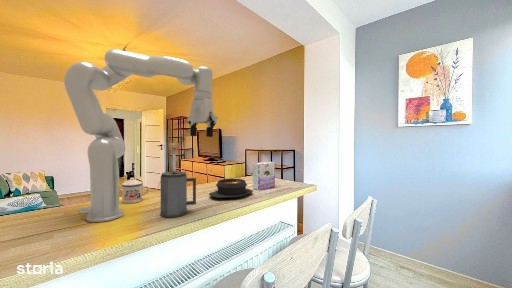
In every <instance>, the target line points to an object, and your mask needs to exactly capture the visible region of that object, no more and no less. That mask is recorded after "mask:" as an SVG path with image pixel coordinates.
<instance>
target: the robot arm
mask: <svg viewBox="0 0 512 288" xmlns="http://www.w3.org/2000/svg"><path fill="white" fill-rule="evenodd" d="M104 62H105V65H104V66H103V67H101V68H100V67H98V66H97V65H95V64H93V63H92V62H88V61H77V62H75V63H73V64H71V65H70V66H69V68H68V69H67V70H66V72H65V74H64V78H63V84H64V89H65V92H66V94H67V96H68V98H69V101H70V103H71V106H72V109H73V111H74V113H75V116H76V118H77V121H78V123H79V126H80V128H81V130H82V131H83V132H84V133H85V134H87V135H90V136H95V139H93V140H92V141H91V142H90V143H89V145H88V148H87V158H88V163H89V177H90V178H89V179H90V181H89V182H90V186H89V189H90V206H88V207H80V208H78V213H79V214H80V215H82V214H83V215H84V214H86V216H85V221H86V222H89V223H102V222H109V221H112V220H116V219H119V218H121V217H122V216H123V215H124V214H125V213H124V211H125V210H122V209H121V208H120V169H119V162H118V161H119V160H118V159H119V158H121V157H122V156H123V155H124V154H125V152H126V144H125V141H124V139H123V136H122V133H121V132H120V128H119V126H118V123H117V122H116V120H115V119H114V118H113V117H112V116H111V115H110V114H109V113H108V114H107V113H104V111H103V109H102V107H101V104H100V101H99V98H98V97H97V95H96V94H95V92H94V90H96V91H99V92H100V91H101V92H102V91H106V90H109V89H111V88H112V87H115V86H116V85H118V84H120V83H121V82H123V81H124V80H126V79H127V78H129V77H131V76H132V75H133V76H139V77H143V78H153V77H155V76H163V77H164V76H166V77H171V78H176V79H177V81H178V82H179V83H180V84H181V85H184V86H192V85H193V86H194V87H193V99H192V101H191V105H190V106H191V107H190V110H189V111H190V112H189V116H187V121H188V125H189V127H190V130H189V131H190V132H189V133H190V137H197V135H198V127H197V126H198V124H206V125H207V127H206V132H205V133H206V137H207V138H208V137H209V138H212V137H214V128H215V125H216V124H217V121H218V119H219V117H218V116H217V115H216V114H214V102H213V100H212V98H213V78H214V77H213V70H212V69H211V68H210V67H207V66H198V67H196V68H195V69H194V66H193V65H192V64H191V63H190V62H189V61H187V60H184V59H181V58H176V57H172V56H165V55H151V56H150V55H145V54H141V53H137V52H131V51H127V50H122V49H117V48H116V49H115V48H113V49H112V48H111V49H109V50H107V51H106V53H105V54H104Z"/></svg>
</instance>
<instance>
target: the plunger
mask: <svg viewBox="0 0 512 288" xmlns="http://www.w3.org/2000/svg"><path fill="white" fill-rule="evenodd" d="M179 145H180V144H179V143H178V142H169V149H172V172H173V174H175V173H176V170H177V169H176V168H177V164H176V161H177V160H176V157H177V155H176V149H179V148H180V147H179Z"/></svg>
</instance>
